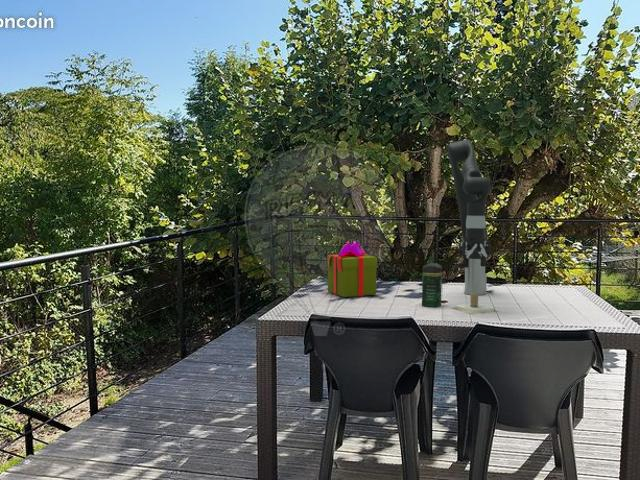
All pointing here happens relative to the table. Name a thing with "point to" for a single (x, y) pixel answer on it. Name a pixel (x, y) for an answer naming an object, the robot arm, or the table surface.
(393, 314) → the table surface
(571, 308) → the table surface
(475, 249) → the robot arm
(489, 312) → the mat
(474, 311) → the peg stand
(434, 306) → the coffee jar
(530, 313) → the table surface
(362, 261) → the gift box
